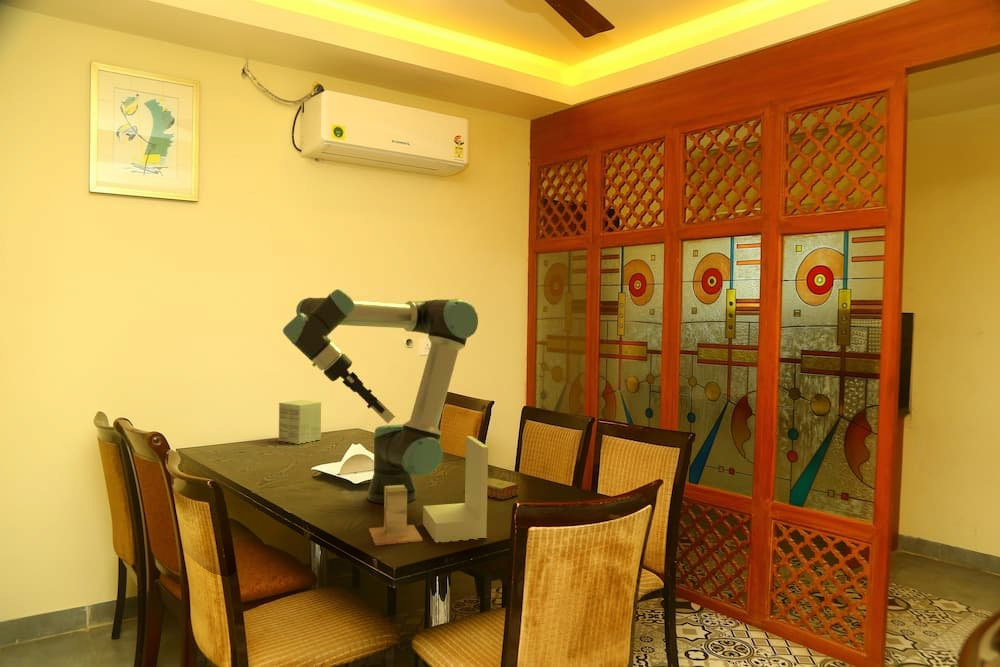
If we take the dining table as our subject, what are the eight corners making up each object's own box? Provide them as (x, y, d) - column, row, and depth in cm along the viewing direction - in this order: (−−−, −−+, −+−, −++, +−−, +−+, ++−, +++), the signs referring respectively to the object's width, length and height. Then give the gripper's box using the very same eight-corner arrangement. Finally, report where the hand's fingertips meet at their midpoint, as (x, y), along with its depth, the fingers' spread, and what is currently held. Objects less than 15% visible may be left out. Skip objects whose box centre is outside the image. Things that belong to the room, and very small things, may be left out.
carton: (501, 501, 211) (501, 488, 210) (465, 491, 221) (465, 479, 221) (518, 496, 217) (518, 483, 217) (482, 487, 228) (482, 474, 227)
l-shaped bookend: (422, 523, 185) (424, 437, 185) (469, 520, 189) (471, 436, 189) (435, 542, 170) (437, 449, 169) (486, 538, 174) (488, 447, 174)
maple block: (383, 531, 177) (384, 486, 176) (402, 529, 178) (403, 484, 178) (387, 537, 171) (387, 491, 171) (406, 536, 173) (407, 490, 173)
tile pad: (369, 530, 179) (369, 528, 179) (413, 526, 182) (413, 524, 182) (375, 545, 167) (375, 543, 167) (422, 541, 171) (422, 539, 171)
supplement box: (300, 437, 308) (300, 399, 308) (321, 440, 302) (321, 402, 301) (277, 441, 297) (278, 402, 296) (299, 445, 290) (299, 405, 290)
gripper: (319, 368, 191) (371, 418, 196) (325, 376, 167) (384, 433, 173) (338, 349, 193) (390, 400, 198) (347, 355, 169) (405, 412, 174)
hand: (387, 416), depth 185 cm, fingers open, 13 cm apart
